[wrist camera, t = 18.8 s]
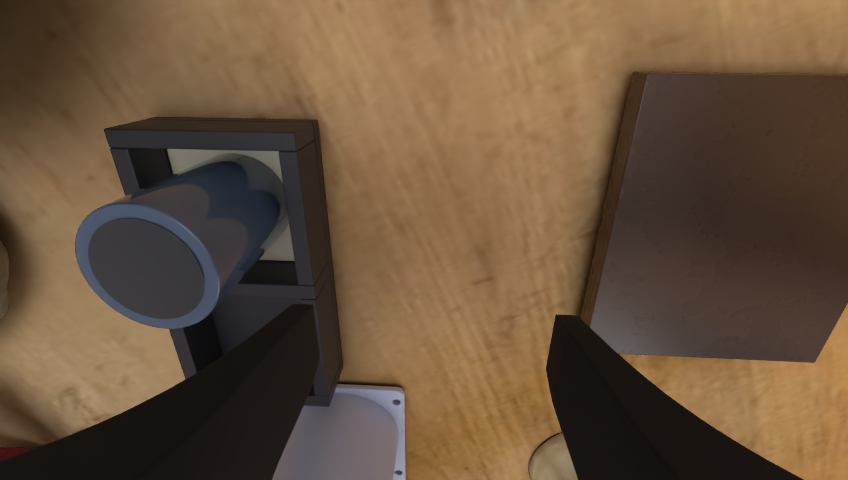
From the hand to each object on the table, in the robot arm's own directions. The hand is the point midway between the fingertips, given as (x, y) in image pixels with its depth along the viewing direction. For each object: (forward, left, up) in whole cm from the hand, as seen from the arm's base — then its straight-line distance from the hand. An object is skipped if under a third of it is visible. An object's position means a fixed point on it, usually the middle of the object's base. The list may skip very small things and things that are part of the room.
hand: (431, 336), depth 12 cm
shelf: (0, -14, -10) cm, 17 cm away
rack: (-3, +10, -10) cm, 14 cm away
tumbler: (+1, +10, -9) cm, 13 cm away
